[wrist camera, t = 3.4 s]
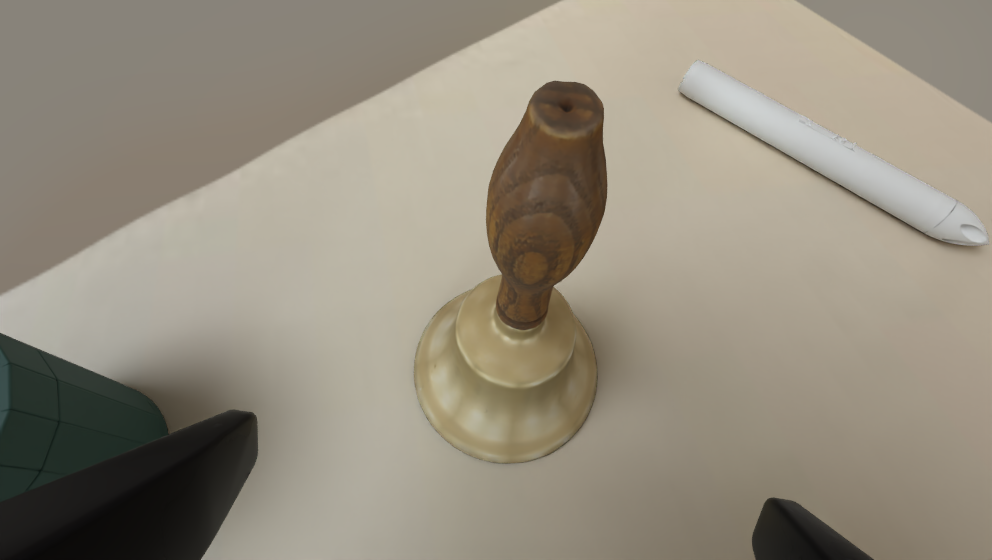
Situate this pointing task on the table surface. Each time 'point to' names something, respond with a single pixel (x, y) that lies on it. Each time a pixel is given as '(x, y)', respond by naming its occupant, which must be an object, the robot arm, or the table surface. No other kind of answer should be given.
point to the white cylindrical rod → (834, 157)
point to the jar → (63, 418)
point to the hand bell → (524, 294)
